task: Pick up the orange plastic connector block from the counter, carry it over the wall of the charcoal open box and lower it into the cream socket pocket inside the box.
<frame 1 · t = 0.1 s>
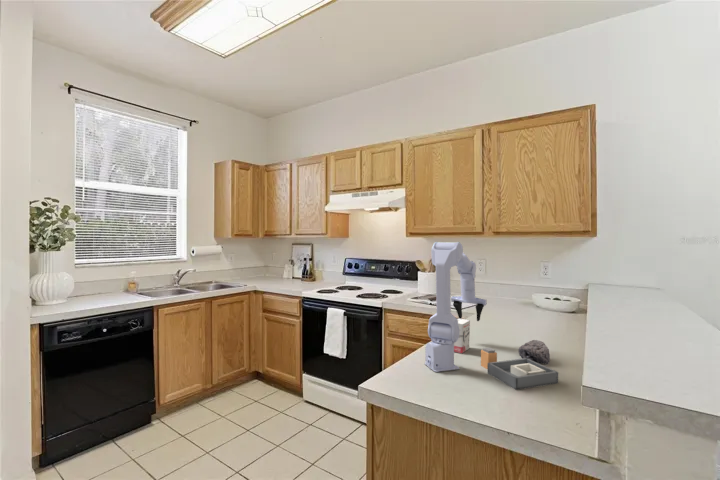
hand: (469, 319, 145), 11 cm above the countertop, tool pointing down, fingers open, 7 cm apart
connector: (488, 367, 119), on the countertop
pumice stone: (532, 361, 126), on the countertop
ink box: (460, 350, 137), on the countertop
walled box: (521, 378, 109), on the countertop
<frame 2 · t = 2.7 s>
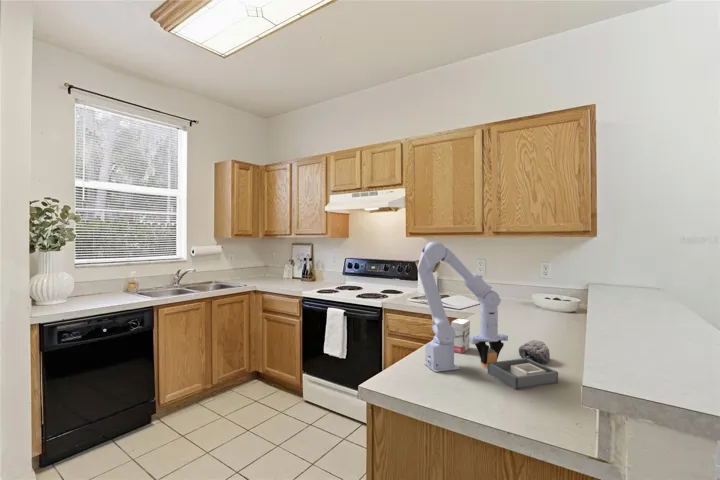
hand: (488, 362, 119), 2 cm above the countertop, tool pointing down, fingers closed on connector, 3 cm apart
connector: (488, 367, 119), on the countertop, touching gripper
everything else where it was.
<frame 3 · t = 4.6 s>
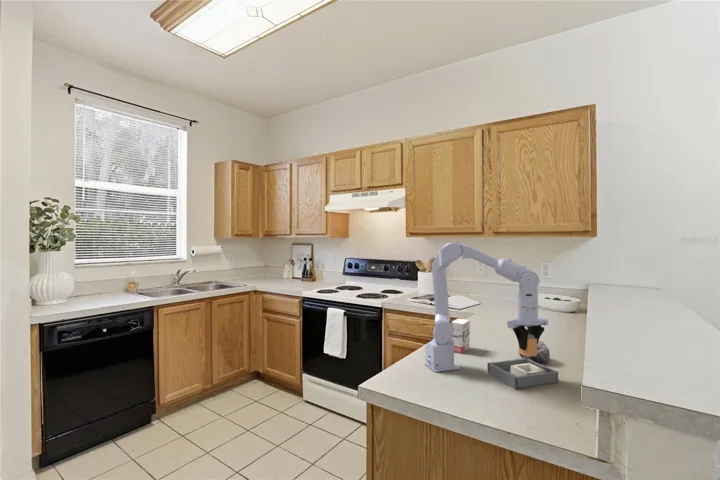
hand: (527, 348, 110), 9 cm above the countertop, tool pointing down, fingers closed on connector, 3 cm apart
connector: (527, 354, 110), point 7 cm above the countertop, touching gripper
everything else where it was.
when the fingers open (4 cm above the countertop, at t = 6.3 s): connector drops 1 cm, resting on walled box.
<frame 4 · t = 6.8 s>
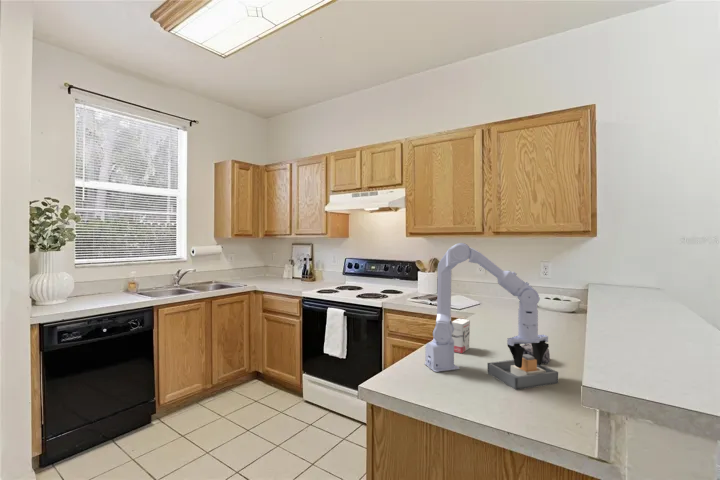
hand: (527, 365, 110), 4 cm above the countertop, tool pointing down, fingers open, 7 cm apart
connector: (527, 375, 110), point 1 cm above the countertop, touching walled box
everything else where it was.
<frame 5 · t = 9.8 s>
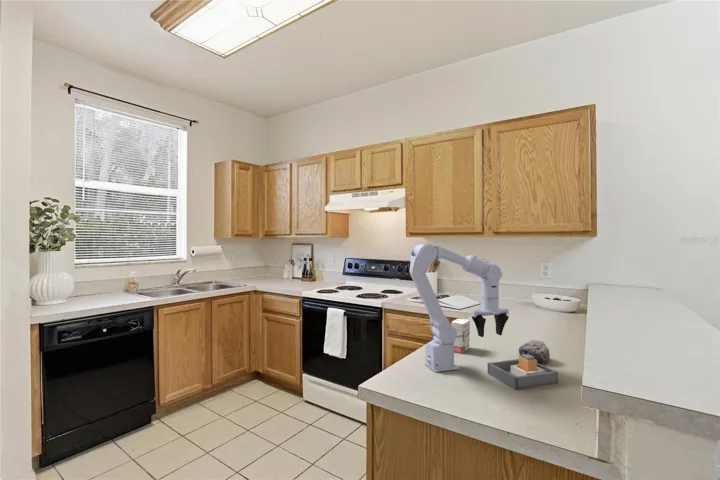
hand: (490, 335, 121), 10 cm above the countertop, tool pointing down, fingers open, 7 cm apart
nothing on the countertop moved.
at the end: connector 0.1 cm from the target spot on the walled box, point 0.6 cm above the walled box's base; connector tilted 0°; the gripper is holding nothing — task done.
